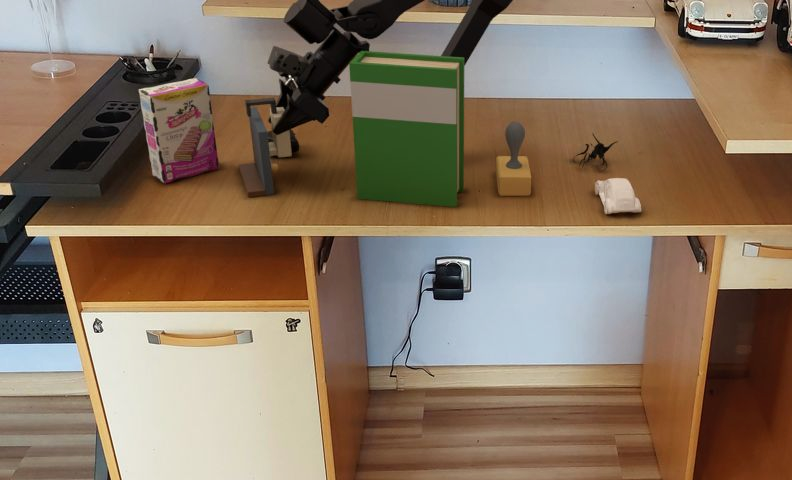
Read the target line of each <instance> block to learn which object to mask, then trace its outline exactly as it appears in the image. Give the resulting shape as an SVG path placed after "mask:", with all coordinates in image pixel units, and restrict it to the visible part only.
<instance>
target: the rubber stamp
mask: <svg viewBox="0 0 792 480" xmlns="http://www.w3.org/2000/svg"><path fill="white" fill-rule="evenodd" d="M525 130H526V129H525V127H524V125H523V124H522V123H521V122H518V121H512V122H510V123H509V124H508V125H507V126H506V128H505V132H504V133H505V135H504V136H505V140H506V143H507V146H508V149H509V154H510V155H498V156H497V157H496V158H495V159H496V161H495V162H496V163H495V177H496V185H497V193H498V195H499V196H502V197H503V196H504V197H505V196H508V197H509V196H510V197H511V196H514V197H515V196H518V197H519V196H522V197H523V196H526V197H528V196H530V195H531V193H532V173H531V169H530V164H529V163H530V162H529V158H528V157H527V156H526V155H525V156H524V155H519V153H520V149H521V147H522V145H523V143H524V139H525V135H526V131H525Z"/></svg>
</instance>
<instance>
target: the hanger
mask: <svg viewBox="0 0 792 480" xmlns="http://www.w3.org/2000/svg"><path fill="white" fill-rule="evenodd" d="M276 102H277V100H276V98H275V97H266V98H265V97H264V98H255V99H253V98H252V99H245V100H244V103H245V111H246V116H247V118H249V117H251V107H256V106H264V105H270V107H269V115H270V116H271V130H272V134H273V142H269V152H270V157H273V156H277V157H278V158H286V157H293V153H291V142H290V132H289V130H288V131H286V132H283V133H281V134H279V135H276V134H275V133H274V132H273V129H274V127H275V126H276V124H277V122H278V121H279V119H280V117H281V116H282V114H283V113H284V111H285V110H284V108H283V107H276ZM270 116H269V117H270Z"/></svg>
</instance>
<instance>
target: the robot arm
mask: <svg viewBox="0 0 792 480" xmlns="http://www.w3.org/2000/svg"><path fill="white" fill-rule="evenodd" d="M424 1H426V0H352V1H351V2H349V3H348V5H345V6H340V7H335V8H330V9H329V8H328V7H327V6H325V5H324V4H323V3H322V2H321V1H320V0H297V1H296V2H295V1H294V2H293V3H292V4H291V5H290V7H289V8H288V10H287V11H286V12H285V15H284V17H283V23H284V24H285V25H286V26H288V27H289V28H290V29H291V30H292V31H294V33H296V34H297V35H298V36H300V38H302V39H303V40H304V41H305V42H307V43H308V44H309V45H314V44H316V45H319V46H318V47H317V48H316V49H315V51H314V52H312V51H307V52H306V53H305V54H304V55H300V54H298V53H295V52H293V51H290V50H288V49H286V48H283V47H279V46H276V45H273V46H272V49H271V51H270V55H269V57H268V60H267V65H268V66H269V69H270V70H272V71H274V72H276V73H278V75H279V77H281V78H284V79H283V80H282V79H281V78H278V83H279V89H280V93H279V95H278V98H277V100H276V107H283V108H284V110H285V111H284V113H283V114H282V116H281V117H280V119H279V121H278V122H277V124H276V126H275V127H274V129H273V132H274V133H275V134H276V135H279V134H281V133H283V132H286V131H288V130H290V129H291V130H293V129H295V128H297V127H299V126H302V125H305V124H308V123H310V122H315V121H317V122H318V123H320V124H321V125H322V124H324V123H325V121H326V120H327V119H328V118H329V117H330V110H329V109H330V108H329V107H328V105H327V103H326V102H325V101H324V100H325V99H326V96H325V93H326V92H327V91H328V90H329V88H331V86H332V85H333V84H334V83H336V85H338V84H339V83H340V82H341V78H340V76H341V75H342V73H343V72H344V71H345V70H346V69H347V67H348V66H349V63H350V62H351V61H352V60H353V59H354V58H355V57H356V56H357V55H358V54H359V53H360V52H361V51H370V46H371V44H370V42H369V41H368V40H374V39H377V38H378V37H380V36H382V34H383V33H385V32H386V31H387V30H388V29H390V28H391V27H392V26H393V25H394V24H395V23H396V21H397V20H398V19H399V18H400V17H401V16H402V15H404V13H406V12H407V11H410V9H412V8H414V7H416V6H417V5H420V4H421V3H423V2H424ZM513 1H514V0H470V5H469V7H468V9H467V11H466V12H465V14H464V16H463V18H461V21H460V22H459V24H458V26H457V28H456V29H455V31H454V33H453V34H452V36H451V37H450V40H449V41H448V43H447V45H446V47H444V50H443V52H442V53H441V55H440V56H448V57H463V58H464V67H465V66H466V65H467V63H468V61H469V59H470V58H471V56H472V54H473V52H474V51H475V49H476V47H477V46H478V44H479V43H480V41H481V39H482V37H483V36H484V34H485V32H486V31H487V29H488V28H489V25H490V24H491V23H492V21H493V20H494V19H495V18H496V17H497V16H498V15H499V14H502V13H503V11H505V10H506V9H507V8H508V7H509V6H510V5H511V3H512V2H513ZM335 25H337V26H339V27H340V28H341V29H342V30H343V31H344V32H342V31H341V30H340V29H339V28H338V27H336V26H335ZM353 33H356V34H357V35H358V36H359V37H361V38H363V39H366V40H360V39H359V38H358V37H357V36H356V35H355V34H353ZM267 122H268V123H269V124H271V116H269V117H268V120H267Z"/></svg>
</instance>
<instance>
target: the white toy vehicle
mask: <svg viewBox="0 0 792 480" xmlns="http://www.w3.org/2000/svg"><path fill="white" fill-rule="evenodd" d="M594 193H595V195H596V196H599V197H600V200H601V203H602V206H603V211H604V214H605V215H611V214H619V213H634V214H639V213H642V205H641V201H640V199H639V198H638V197H636V195H635V194H636V193H635V191H634V189H633V187H632V184H631V181H629V180H628V178H623V177H613V178H607V179H606V180H597V181H596V182H595V183H594Z"/></svg>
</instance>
